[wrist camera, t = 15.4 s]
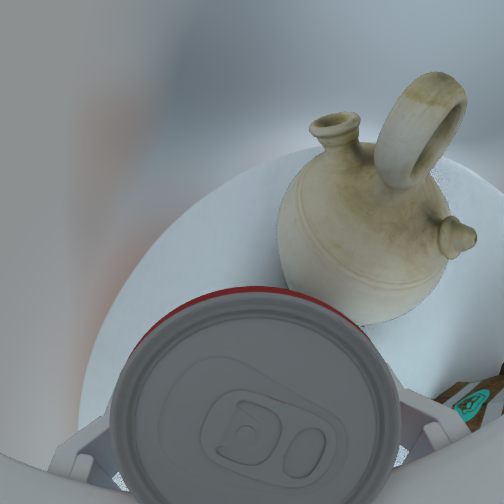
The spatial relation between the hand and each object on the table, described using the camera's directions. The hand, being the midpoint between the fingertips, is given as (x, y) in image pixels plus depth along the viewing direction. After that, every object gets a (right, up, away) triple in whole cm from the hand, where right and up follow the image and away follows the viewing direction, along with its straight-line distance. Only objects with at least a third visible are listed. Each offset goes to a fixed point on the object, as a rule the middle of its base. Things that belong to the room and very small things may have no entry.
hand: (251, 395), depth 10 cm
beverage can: (0, -3, +6) cm, 7 cm away
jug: (+10, +3, +23) cm, 25 cm away
